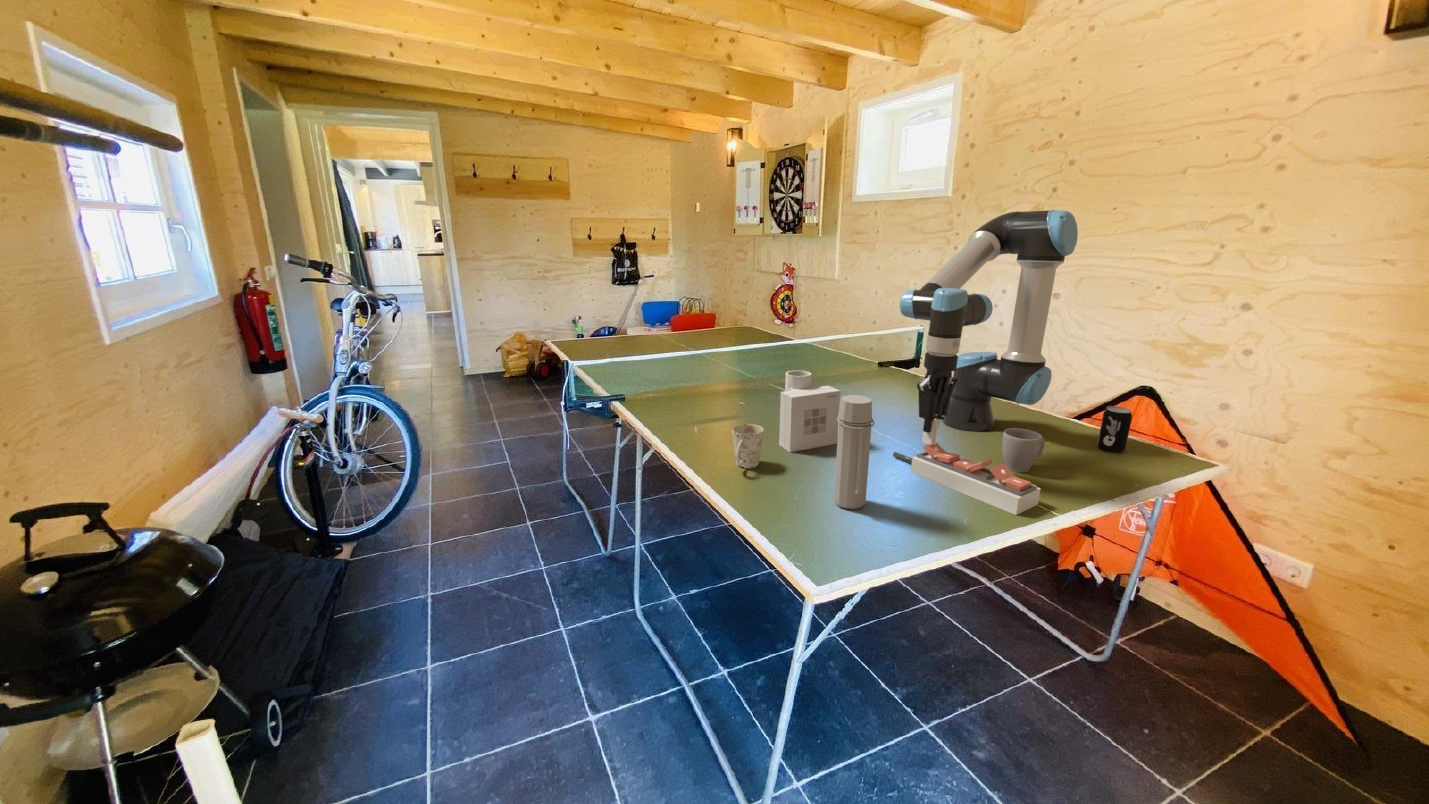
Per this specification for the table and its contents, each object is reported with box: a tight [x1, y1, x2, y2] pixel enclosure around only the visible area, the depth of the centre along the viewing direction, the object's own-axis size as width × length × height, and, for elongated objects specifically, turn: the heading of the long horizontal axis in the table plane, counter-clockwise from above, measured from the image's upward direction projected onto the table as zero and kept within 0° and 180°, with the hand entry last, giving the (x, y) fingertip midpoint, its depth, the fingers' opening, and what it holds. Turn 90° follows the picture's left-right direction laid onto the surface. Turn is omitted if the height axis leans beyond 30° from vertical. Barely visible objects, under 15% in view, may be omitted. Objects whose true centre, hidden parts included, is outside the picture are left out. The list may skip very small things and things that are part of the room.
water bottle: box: [833, 394, 875, 510], centre depth 124 cm, size 9×8×25 cm
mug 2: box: [1001, 427, 1046, 473], centre depth 146 cm, size 12×9×10 cm
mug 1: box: [731, 423, 765, 469], centre depth 147 cm, size 8×13×10 cm, turn 161°
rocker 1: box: [923, 441, 961, 463], centre depth 142 cm, size 8×5×2 cm, turn 34°
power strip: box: [892, 451, 1041, 516], centre depth 139 cm, size 37×9×5 cm, turn 33°
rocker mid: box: [953, 458, 994, 473], centre depth 135 cm, size 8×5×2 cm, turn 33°
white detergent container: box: [778, 369, 841, 453], centre depth 167 cm, size 16×19×20 cm
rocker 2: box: [989, 462, 1032, 492], centre depth 127 cm, size 8×5×2 cm, turn 34°
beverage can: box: [1096, 405, 1133, 454], centre depth 157 cm, size 7×7×12 cm
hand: (928, 442), depth 144 cm, fingers closed, pressing on rocker 1
